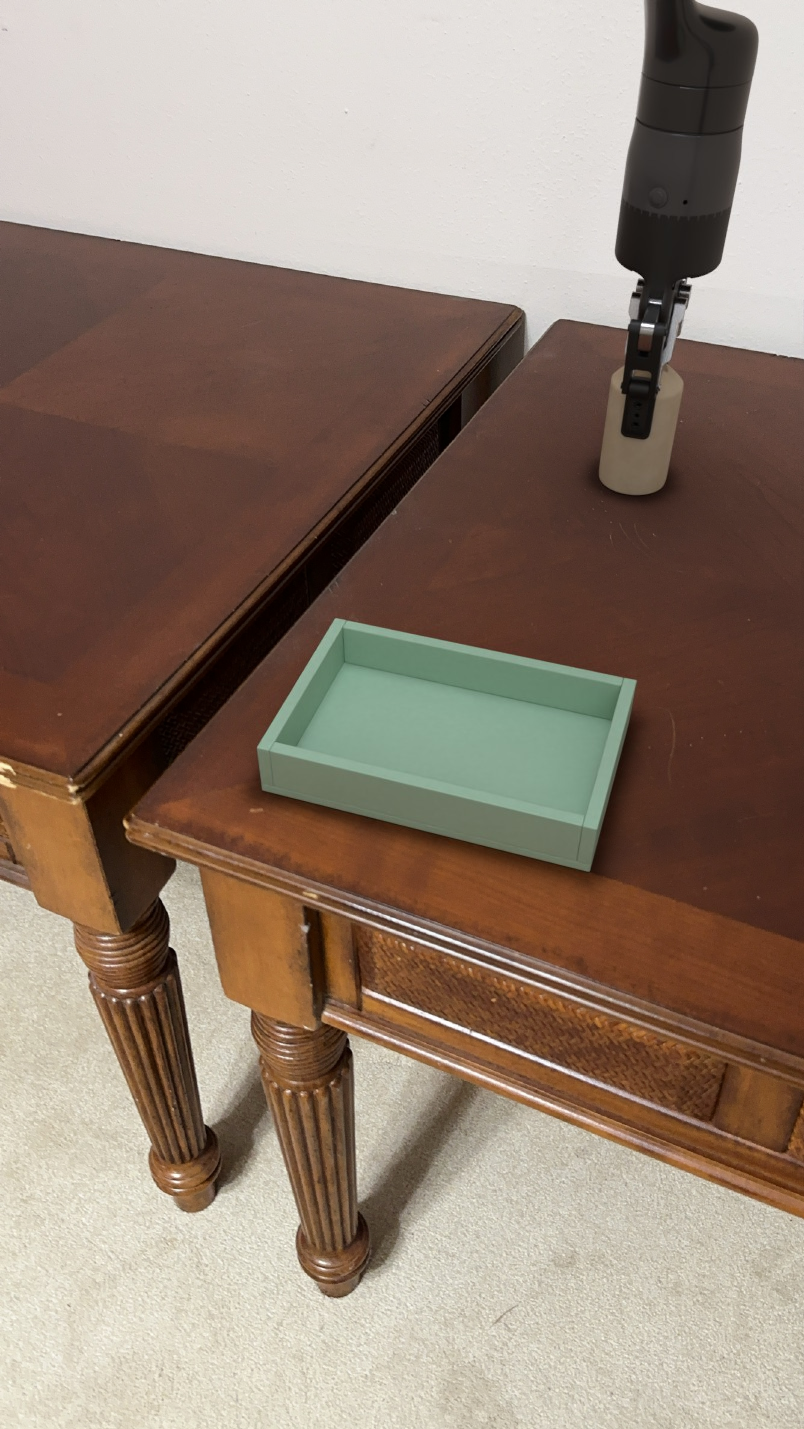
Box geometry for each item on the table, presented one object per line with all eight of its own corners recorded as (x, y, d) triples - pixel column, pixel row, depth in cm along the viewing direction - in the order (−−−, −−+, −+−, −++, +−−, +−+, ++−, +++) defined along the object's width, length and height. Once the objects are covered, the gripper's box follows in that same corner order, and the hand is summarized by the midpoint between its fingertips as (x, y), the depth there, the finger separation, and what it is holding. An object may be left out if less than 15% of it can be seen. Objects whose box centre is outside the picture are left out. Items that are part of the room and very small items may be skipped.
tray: (628, 722, 69) (637, 679, 67) (589, 872, 60) (597, 829, 58) (337, 659, 74) (335, 617, 71) (261, 790, 65) (256, 747, 63)
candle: (670, 496, 89) (693, 379, 82) (602, 495, 89) (618, 379, 82) (660, 460, 93) (680, 347, 86) (594, 460, 93) (609, 346, 86)
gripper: (721, 234, 69) (676, 470, 81) (744, 165, 79) (701, 384, 91) (603, 221, 71) (575, 454, 83) (640, 155, 81) (610, 371, 93)
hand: (641, 416), depth 87 cm, fingers closed on candle, 5 cm apart
